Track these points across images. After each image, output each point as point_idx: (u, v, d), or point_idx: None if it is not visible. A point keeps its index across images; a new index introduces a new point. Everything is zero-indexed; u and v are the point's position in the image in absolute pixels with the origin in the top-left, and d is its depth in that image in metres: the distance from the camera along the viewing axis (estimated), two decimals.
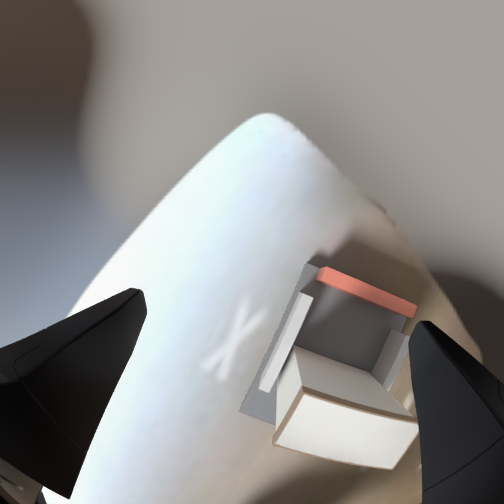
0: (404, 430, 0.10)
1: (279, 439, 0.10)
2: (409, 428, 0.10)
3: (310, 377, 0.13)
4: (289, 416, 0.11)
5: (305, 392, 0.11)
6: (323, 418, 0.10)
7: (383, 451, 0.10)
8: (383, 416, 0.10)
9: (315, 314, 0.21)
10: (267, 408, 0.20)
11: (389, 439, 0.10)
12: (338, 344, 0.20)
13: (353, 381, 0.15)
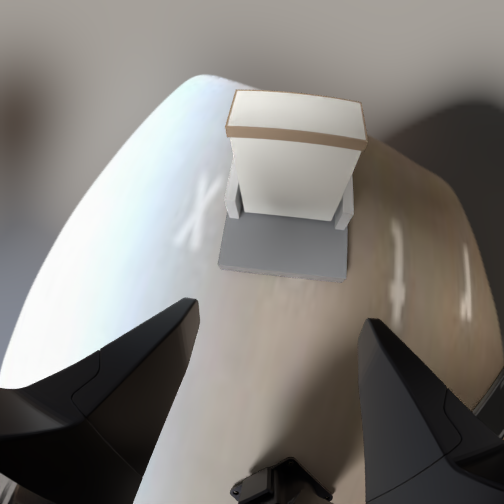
0: (344, 105, 0.13)
1: (230, 121, 0.13)
2: (348, 104, 0.13)
3: None
4: (232, 105, 0.13)
5: (238, 90, 0.14)
6: (260, 100, 0.13)
7: (339, 121, 0.13)
8: (312, 95, 0.13)
9: None
10: (246, 250, 0.22)
11: (334, 110, 0.13)
12: None
13: None
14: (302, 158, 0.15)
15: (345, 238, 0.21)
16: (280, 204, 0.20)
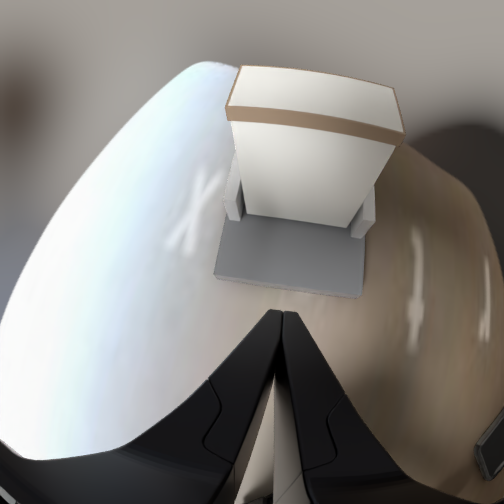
0: (374, 89, 0.10)
1: (231, 100, 0.10)
2: (379, 88, 0.10)
3: None
4: (235, 82, 0.10)
5: (243, 65, 0.11)
6: (270, 77, 0.10)
7: (370, 107, 0.09)
8: (336, 74, 0.10)
9: None
10: (247, 259, 0.18)
11: (363, 94, 0.10)
12: None
13: None
14: (321, 152, 0.11)
15: (362, 248, 0.18)
16: (289, 206, 0.17)
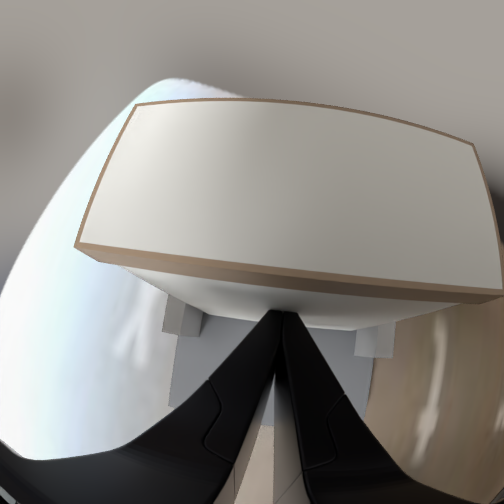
0: (442, 151, 0.04)
1: (88, 224, 0.04)
2: (450, 148, 0.04)
3: None
4: (110, 158, 0.04)
5: (140, 104, 0.05)
6: (188, 132, 0.04)
7: (441, 218, 0.04)
8: (355, 111, 0.04)
9: None
10: None
11: (425, 173, 0.04)
12: None
13: None
14: (312, 301, 0.06)
15: (369, 369, 0.12)
16: None
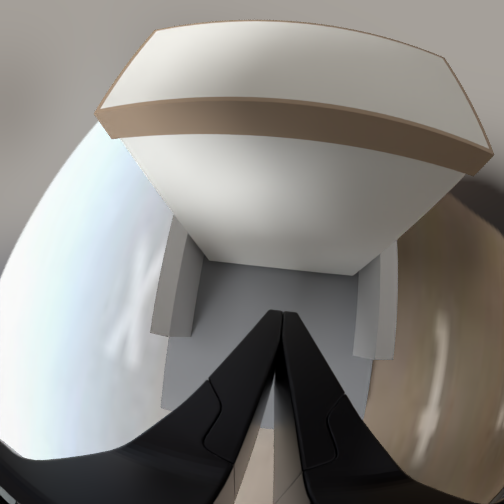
0: (414, 55, 0.04)
1: (110, 96, 0.04)
2: (421, 55, 0.04)
3: None
4: (133, 60, 0.04)
5: (159, 30, 0.05)
6: (201, 38, 0.04)
7: (417, 87, 0.04)
8: (337, 27, 0.04)
9: None
10: None
11: (399, 62, 0.04)
12: None
13: None
14: (312, 183, 0.06)
15: (368, 370, 0.12)
16: (267, 255, 0.11)
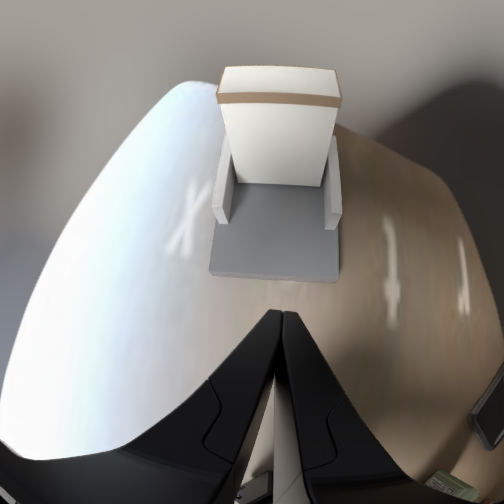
0: (320, 72, 0.14)
1: (220, 89, 0.14)
2: (323, 71, 0.14)
3: None
4: (221, 78, 0.14)
5: (226, 66, 0.15)
6: (245, 72, 0.14)
7: (315, 84, 0.14)
8: (292, 66, 0.14)
9: None
10: (236, 256, 0.22)
11: (311, 76, 0.14)
12: None
13: None
14: (285, 120, 0.16)
15: (336, 238, 0.21)
16: (270, 171, 0.21)
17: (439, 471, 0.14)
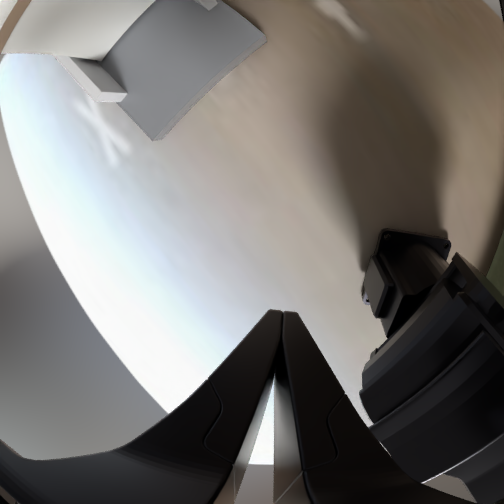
0: None
1: None
2: None
3: None
4: None
5: None
6: None
7: None
8: None
9: None
10: (159, 106, 0.15)
11: None
12: None
13: None
14: None
15: (226, 7, 0.12)
16: (110, 25, 0.11)
17: None
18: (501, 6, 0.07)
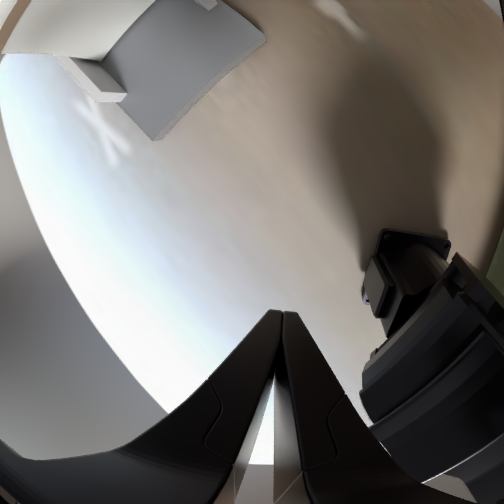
0: None
1: None
2: None
3: None
4: None
5: None
6: None
7: None
8: None
9: None
10: (159, 106, 0.15)
11: None
12: None
13: None
14: None
15: (226, 7, 0.12)
16: (110, 25, 0.11)
17: None
18: (501, 6, 0.07)
